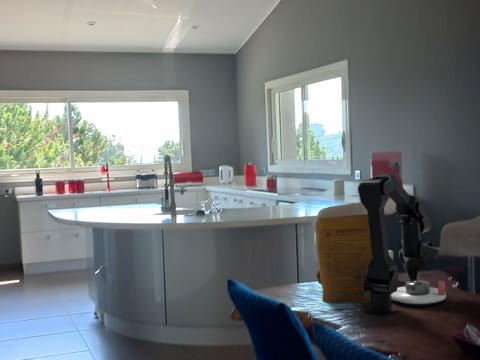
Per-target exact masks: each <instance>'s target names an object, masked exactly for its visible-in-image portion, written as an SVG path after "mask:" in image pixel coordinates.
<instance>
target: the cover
mask: <svg viewBox="0 0 480 360" xmlns="http://www.w3.org/2000/svg"><path fill="white" fill-rule="evenodd" d="M404 285H405V286H404V287H406V293H407V294H409V295H415V296H422V295H428V294H430V287H431V286H430V281H427V280H423V279H416V280H410V279H409V280H407V281H405V284H404Z"/></svg>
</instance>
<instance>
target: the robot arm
mask: <svg viewBox="0 0 480 360" xmlns="http://www.w3.org/2000/svg"><path fill="white" fill-rule="evenodd" d="M357 193H358V195H359V199H360V204H362V206H363V207H364V208H365V210H366V211H367V214H368V222H369V231H370V240H371V249H372V259H371V261H370V263H369V265H368V273H367V276H366V278H365V281H364V284H363V288H364V291H369V292H370V301H369V302H370V308H369V309H366V313H369V314H373V315H379V316H388V315H390V314H393V313H394V312H397V308H393V299H392V296H391V294H392V293H394V292H396V291H397V288H398V285H399V283H398V282H399V271H398V264H397V263H398V262H397V260H396V258H393V259H392V258H391V257H390V256H389V250H390V249H389V242H388V234H387V231H388V230H387V224H386V216H385V215H386V214H385V207H386V204H387V203H388V201H389V199H391V200H392V201H393V202H394V203H395V210H396V212H397V214H398V215H399V216H400V217H402V218H401V220H400V221H399V222H398V224H399V225H401V239H400V242H401V245H402V248H400V250H398V257H399V259H402V258H403V259H404V260H402V261H401V264H402V265H403V268H404V270H405V272H406V275H407V276H408V278H409V281H410V280H417V277H418V272H419V269H423V268H424V269H425V268H428V261H427V260H426V259H425V258H424V257H425V256H427V257H428V258H429V257H430V258H432V259H434V260H437V259H438V256H439V253H440V249H439V248H438V247H436V246H434V243H433V242H431V241H427V242H425V243H424V242H423V240H422V239H421V234H423V233H427V232H428V231H430V230H431V228H432V221H431V219H430V218H429V217H428V215H427V212H426V210H425V207H424V204H423V202H422V201H421V199H420V198H418V197H417V196H415V195H411V194H410V193H408V192H407V191H406V189H405V188H404V187H403V186H402V185H401V184H400V183H399V181H398V180H397V178H396V175H394V174H392V173H391V174H389V173H385V174H378V175H376V176H374V177H371V178H367V179H363V180H361V181H360V183H359V184H358V187H357ZM381 285H385V286H381Z"/></svg>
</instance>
